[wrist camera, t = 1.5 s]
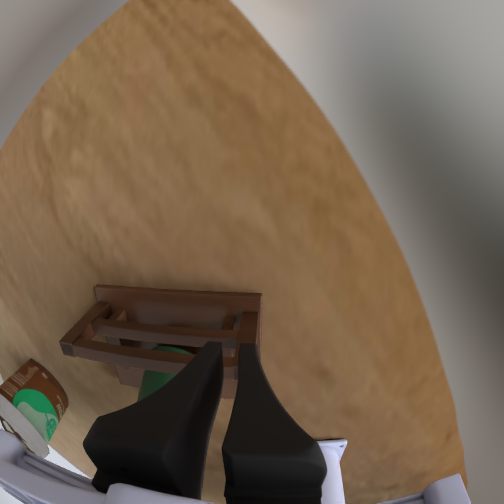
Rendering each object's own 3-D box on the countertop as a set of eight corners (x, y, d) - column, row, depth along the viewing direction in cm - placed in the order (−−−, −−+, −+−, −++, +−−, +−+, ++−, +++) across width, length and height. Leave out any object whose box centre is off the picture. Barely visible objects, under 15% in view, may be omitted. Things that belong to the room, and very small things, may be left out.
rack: (259, 396, 26) (255, 455, 19) (122, 380, 27) (95, 428, 20) (261, 293, 22) (257, 349, 16) (97, 284, 23) (51, 324, 17)
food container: (83, 428, 31) (54, 478, 22) (49, 411, 31) (18, 457, 22) (65, 367, 27) (21, 425, 18) (28, 349, 27) (-18, 397, 18)
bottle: (204, 372, 25) (191, 467, 18) (157, 366, 25) (139, 457, 18) (195, 348, 22) (177, 461, 15) (142, 343, 22) (117, 447, 15)
